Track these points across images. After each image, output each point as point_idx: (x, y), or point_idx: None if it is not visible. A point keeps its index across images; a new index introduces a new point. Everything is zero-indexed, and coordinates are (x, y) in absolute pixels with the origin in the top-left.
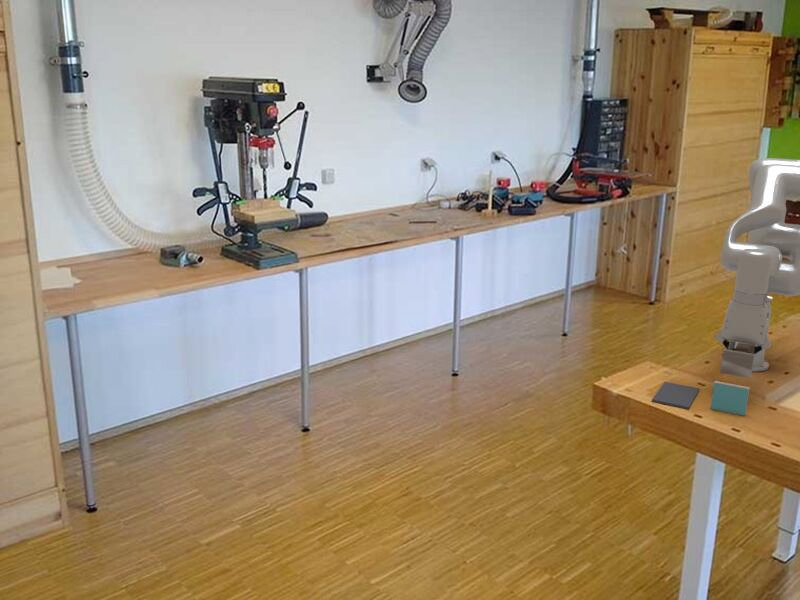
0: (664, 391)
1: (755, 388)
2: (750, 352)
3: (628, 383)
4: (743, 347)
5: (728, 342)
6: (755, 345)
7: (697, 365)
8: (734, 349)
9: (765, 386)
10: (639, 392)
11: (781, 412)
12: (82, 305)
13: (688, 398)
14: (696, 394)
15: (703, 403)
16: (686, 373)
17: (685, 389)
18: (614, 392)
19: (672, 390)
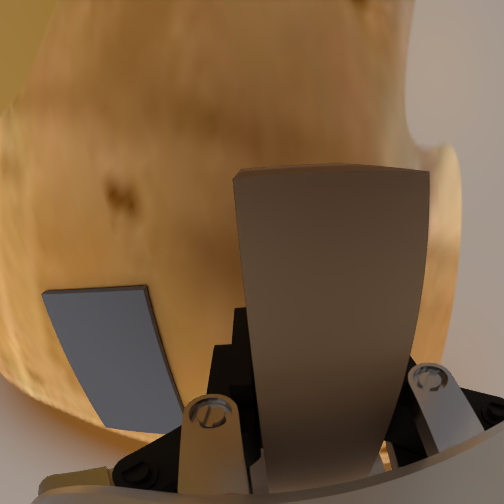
0: (88, 374)
1: (332, 92)
2: (399, 446)
3: (8, 336)
4: (345, 385)
5: (174, 482)
6: (470, 431)
7: (70, 6)
8: (256, 446)
9: (359, 47)
10: (54, 380)
11: (429, 296)
12: None
13: (160, 392)
14: (160, 350)
15: (203, 377)
16: (49, 118)
17: (114, 329)
18: (35, 398)
19: (95, 358)
